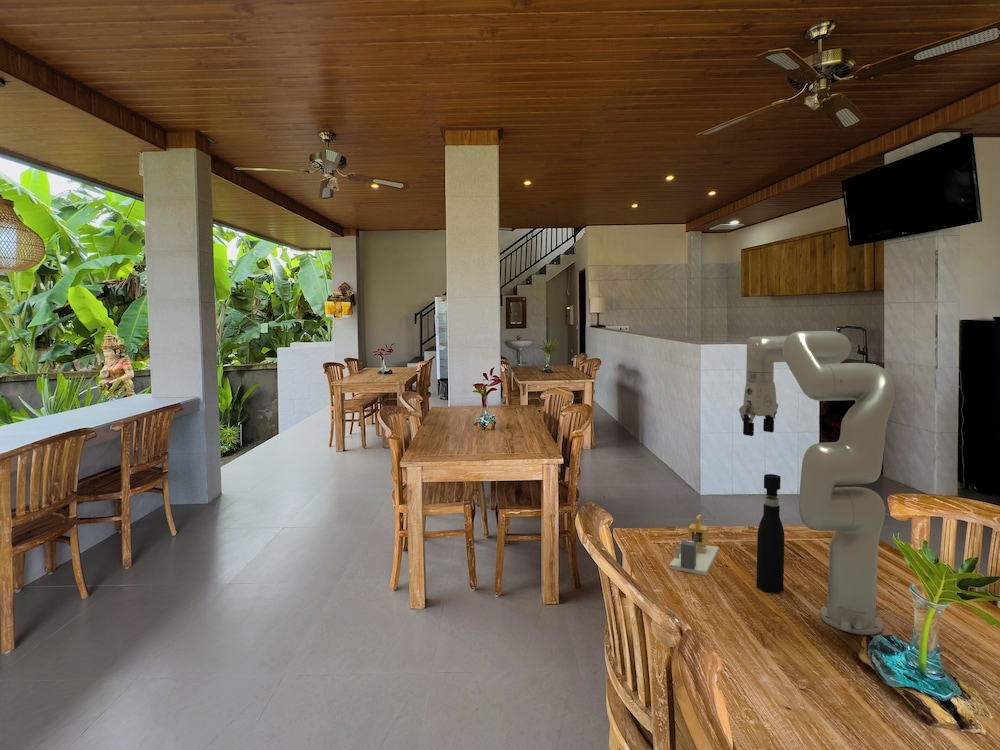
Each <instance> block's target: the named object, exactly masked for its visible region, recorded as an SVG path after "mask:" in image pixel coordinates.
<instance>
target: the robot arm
mask: <svg viewBox="0 0 1000 750" xmlns="http://www.w3.org/2000/svg"><path fill="white" fill-rule="evenodd" d="M851 351H852V344H851V342H850V340H849V338H848V337H847V336H846V335H844V334H842V333H840V332H838V331H835V330H801V331H800V330H799V331H798V330H797V331H795V332H792V333H790V334H789V335H773V336H772V335H770V336H768V335H767V336H751V337H749V338H748V339H747V341H746V365H745V366H746V370H745V371H746V372H745V374H746V376H745V379H746V380H745V386H744V387H745V388H744V393H743V405H741V407H739V409H738V411H739V414H740V417H741V422H742V424H743V426H742V428H743V429H742V430H743V431H742V434H743V435H745V436H747V437H748V436H749V437H752V436H755V435H754V433H755V422H753V421H754V419H755V418H756V417H764V418H763V422H762V423H763V426H762V427H763V428H762V430H763V431H764V432H766V433H774V432H775V419H776V415H777V413H778V411H777V410H778V407H779V403H777V390H776V384H775V381H774V376H775V375H774V374H775V373H774V372H775V370H774V367H775V366H774V365H775V363H786V365H787V367H788V368H789V370H790V372H791V373H792V375H793V377H794V378H795V380H796V382H797V383H798V386H799V387H800V388H801V390H802V392H803V394H804V395H805V396H806V397H808V398H809V399H810V400H814V401H819V402H825V401H829V402H830V401H834V402H835V401H855V403H854V404H853V405H852V406H851V407H850V408H849V409H848V410H847V412H846V413H845V415H844V416H843V417H842V420H841V424H840V435H839V438H838V440H837V441H834V442H833V441H832V442H831V441H830V442H828V441H827V442H826V441H825V442H818V443H814V444H812V445H810V446H809V447H808V448H807V449H806V451H805V453H804V455H803V457H802V462H801V469H800V470H801V472H800V473H801V474H800V482H799V484H800V485H799V496H798V497H799V498H798V512H799V517H800V520H801V521H802V523H803V525H804V526H805V527H806V528H809V529H810V530H812V531H817V532H833V531H834V533H833V535H832V537H831V540H830V541H829V552H828V575H827V576H828V577H827V578H828V581H827V583H828V584H827V604H825V605H823V606H821V607H820V608H819V617H820V618H821V620H823V622H824V623H826V624H827V625H829V626H830V627H833V628H835V629H837V630H840V631H843V632H847V633H850V634H855V635H862V636H863V635H864V636H865V635H866V636H867V635H868V636H870V635H871V636H872V635H876V634H879V633H881V632H882V631H883V630H884V622H883V620H882V619H881V617H879V616H878V615H877V614H876V613H877V612H876V611H877V587H878V562H879V561H878V560H879V544H880V536H881V534H882V533H881V532H882V529H883V524H884V520H885V517H886V505H885V502H884V500H883V499H882V497H881V496H880V494H878V493H877V492H876V491H875V490H872V489H870V488H867V487H861V486H849V485H865V484H872V483H874V482H876V481H878V479H879V478H880V476H881V472H882V468H883V467H882V466H883V460H884V459H883V458H884V451H885V443H886V430H887V424H888V421H889V417H890V415H891V412H892V409H893V405H894V402H895V401H894V400H895V394H896V391H895V384H894V382H893V379H892V376H891V375H890V373H889V372H888V371H887V369H885V368H883V367H882V366H880V365H879V364H873V363H867V362H844V361H845V360H846V359H847V358H848V357H849V355H850V353H851ZM843 485H848V486H843ZM835 486H839V487H835ZM841 486H842V487H841Z"/></svg>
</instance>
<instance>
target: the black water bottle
mask: <svg viewBox="0 0 1000 750" xmlns="http://www.w3.org/2000/svg"><path fill="white" fill-rule="evenodd" d="M781 479H782V478H781V476H780V475H779V474H772V473H769V474H768V473H767V474H766V473H765V474H764V476H763V488H764V489H765V490H766V493H765V495H766V496H765V498H764V504H763V514H762V517H761V520H760V522H759V526H758V529H757V537H756V538H757V539H756V540H757V541H756V543H757V544H756V588H757V589H758V590H760V591H762V592H764V593H768V594H780V593H783V591H784V582H785V581H784V580H785V579H784V578H785V577H784V576H785V575H784V573H785V540H786V539H785V538H786V537H785V530H784V526H783V524H782V523H783V522H782V520H781V517H780V505H779V501H780V500H779V498H778V491H780V490H781Z"/></svg>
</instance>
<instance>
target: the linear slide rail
mask: <svg viewBox="0 0 1000 750" xmlns="http://www.w3.org/2000/svg"><path fill="white" fill-rule="evenodd" d="M700 538H702V533H699V532H695V536H694V537H693V539H692V540H691V541H688V540H687V538H685V537H684V538H681V542H678V546H675V556H674V558H673V559H672V560H671V562H670V564H669V569H670V568H671V569H670V570H674V569H675V571H681V572H684V573H685V572H686V573H690V574H696V575H702V576H705V577H706V576H707V575H708V573H709V571H710V569H711V568H712V565H713V563H714V561H715V559H716V557H717V555H718V554H719V550H720V547H719V546H713V545H708V544H707V545H706V547H705V546H699V545H696V543H697V542H698V540H699V539H700Z"/></svg>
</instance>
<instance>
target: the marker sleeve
mask: <svg viewBox="0 0 1000 750" xmlns="http://www.w3.org/2000/svg"><path fill="white" fill-rule="evenodd" d="M687 529H688V531H687V532H688V534H687V535H688V538H687V539H688V540H687V541H691V540H692V539H693V537H694V536H695V534H696V532H699V533H702V538H700V539H699V540H698V542H697V543H696V545H699V546H705V547H706V545H708V543H709V525H704V524H702V514H698V515H696V517H695V523H690V525H689V526H688V528H687Z"/></svg>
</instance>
